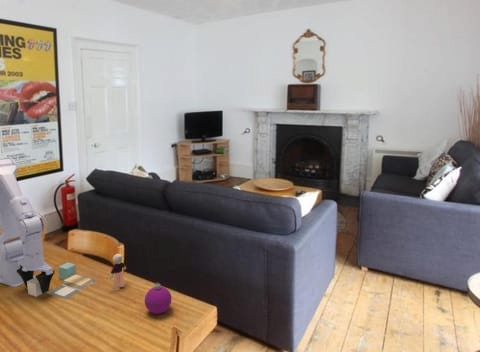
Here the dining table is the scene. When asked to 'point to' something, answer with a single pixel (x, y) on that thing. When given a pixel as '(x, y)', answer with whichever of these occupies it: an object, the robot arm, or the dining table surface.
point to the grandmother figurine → (118, 272)
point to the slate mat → (67, 290)
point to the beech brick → (77, 282)
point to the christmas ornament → (158, 299)
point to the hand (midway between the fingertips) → (37, 289)
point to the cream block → (34, 287)
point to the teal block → (67, 270)
